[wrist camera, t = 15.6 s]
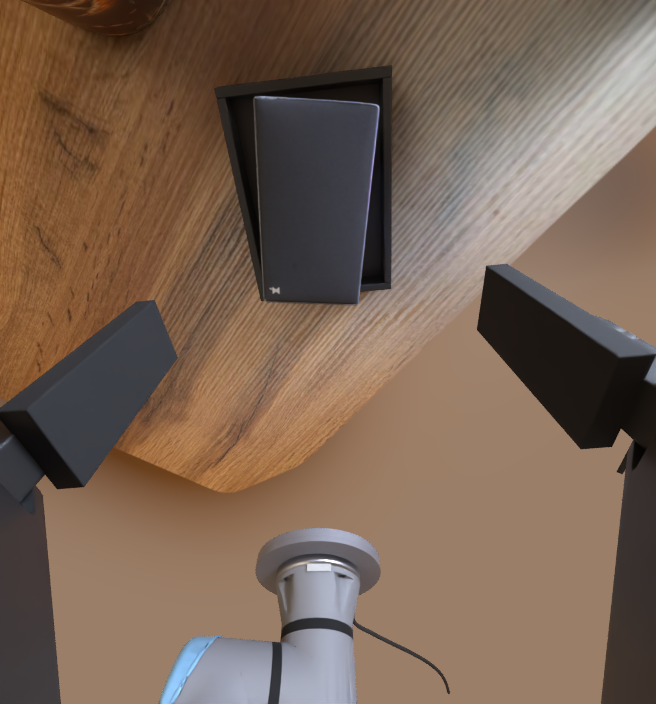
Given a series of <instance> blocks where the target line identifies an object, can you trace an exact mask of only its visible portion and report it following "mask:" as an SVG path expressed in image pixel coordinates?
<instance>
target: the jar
mask: <svg viewBox="0 0 656 704" xmlns="http://www.w3.org/2000/svg"><path fill="white" fill-rule="evenodd" d="M22 1H24V2H26V3H28V4H30V5H32V6H34V7H36V8H38V9H40V10H42V11H44V12H46V13H48V14H50V15H53V16H55V17H57V18H59V19H61V20H63V21H65V22H67V23H70V24H72V25H74V26H76V27H79V28H81V29H83V30H86V31H89V32H92V33H96V34H100V35H106V36H125V35H130V34H133V33H136V32H139V31H141V30H142V29H144V28H146V27H147V26H149V25H150V24H151V23H152V22H154V21H155V20H156V19H157V18H158V16H159V15H160V14H161V13H162V11H163V10H164V8H165V7H166V5H167V3H168V1H169V0H22Z"/></svg>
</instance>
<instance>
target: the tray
mask: <svg viewBox="0 0 656 704" xmlns="http://www.w3.org/2000/svg"><path fill="white" fill-rule="evenodd" d="M214 90H215V94H216V98H217V103H218V108H219V112H220V117H221V121H222V126H223V130H224V135H225V140H226V144H227V149H228V153H229V158H230V162H231V167H232V171H233V176H234V180H235V185H236V190H237V194H238V199H239V203H240V208H241V212H242V217H243V221H244V226H245V230H246V235H247V239H248V244H249V249H250V253H251V258H252V262H253V267H254V271H255V276H256V280H257V285H258V289H259V294H260V299H261V301H265V300H264V298H263V281H262V263H261V241H260V224H259V208H258V187H257V165H256V150H255V128H254V107H253V98H254V97H256V96H269V97H288V98H305V99H320V100H337V101H350V102H361V103H371V104H376V105H378V106H379V119H378V128H377V137H376V147H375V156H374V164H373V173H372V183H371V192H370V201H369V210H368V220H367V229H366V238H365V248H364V258H363V267H362V277H361V286H360V292H363V291H374V290H384V289H391V228H392V65H388V66H380V67H372V68H364V69H357V70H349V71H341V72H333V73H325V74H317V75H309V76H301V77H293V78H285V79H277V80H269V81H261V82H253V83H245V84H237V85H229V86H222V87H215V88H214Z"/></svg>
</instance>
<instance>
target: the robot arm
mask: <svg viewBox="0 0 656 704" xmlns="http://www.w3.org/2000/svg"><path fill="white" fill-rule="evenodd" d="M477 330H478V331H479V333H480V334H481V335H482V336H483V337H484V338H485V339H486V341H487V342H488V343H489V344H490V345H491V346H492V347H493V349H494V350H495V351H496V352H497V353H498V354H499V355H500V357H501V358H502V359H503V360H504V361H505V362H506V364H507V365H508V366H509V367H510V368H511V369H512V371H513V372H514V373H515V374H516V375H517V376H518V377H519V379H520V380H521V381H522V382H523V383H524V384H525V386H526V387H527V388H528V389H529V390H530V391H531V392H532V394H533V395H534V396H535V397H536V398H537V399H538V400H539V402H540V403H541V404H542V405H543V406H544V407H545V408H546V410H547V411H548V412H549V413H550V414H551V415H552V417H553V418H554V419H555V420H556V421H557V422H558V423H559V425H560V426H561V427H562V428H563V429H564V430H565V432H566V433H567V434H568V435H569V436H570V437H571V438H572V440H573V441H574V442H575V443H576V444H577V445H578V447H579V448H580V449H589V448H602V447H612V446H613V444H614V442H615V440H616V437H617V435H618V433H619V431H620V429H622V430H624V431H625V432H626V433H627V434H628V435H629V436H630V437H631V438H632V439H633V442H632V444H631V446H630V447H629V449H628V451H627V453H626V455H625V457H624V459H623V461H622V463H621V465H620V466H619V468H618V470H617V472H618V473H621V474H623V472H624V471H625V469H626V471H625V480H624V490H623V499H622V509H621V519H620V529H619V538H618V547H617V556H616V566H615V575H614V585H613V594H612V604H611V614H610V623H609V633H608V642H607V651H606V662H605V670H604V680H603V689H602V690H603V691H602V700H601V704H656V348H655V347H654V346H652V345H650V344H648V343H647V342H645V341H643V340H642V339H637V337H636V336H635V335H633V334H631V333H630V332H628V331H624V329H623V328H621V327H619V326H618V325H616V324H614V323H613V322H611V321H609V320H606V319H603V318H600V317H597V316H594V315H591V314H589V313H588V312H586V311H584V310H583V309H581V308H579V307H578V306H576V305H574V304H573V303H571V302H569V301H568V300H566V299H564V298H563V297H561V296H559V295H558V294H556V293H554V292H553V291H551V290H549V289H548V288H546V287H544V286H542V285H541V284H539V283H538V282H536V281H534V280H533V279H531V278H529V277H528V276H526V275H524V274H523V273H521V272H519V271H518V270H516V269H514V268H513V267H511V266H509V265H508V264H500V265H491V266H486V271H485V278H484V285H483V292H482V299H481V306H480V312H479V319H478V326H477ZM177 358H178V357H177V355H176V352H175V350H174V347H173V345H172V342H171V340H170V337H169V335H168V332H167V330H166V327H165V325H164V322H163V320H162V317H161V315H160V312H159V310H158V307H157V305H156V302H155V300H150V301H140V302H135V303H134V304H133V305H132V306H130V307H129V308H128V309H126V310H125V311H124V312H123V313H121V314H120V315H119V316H117V317H116V318H115V319H114V320H112V321H111V322H110V323H109V324H107V325H106V326H105V327H103V328H102V329H101V330H100V331H98V332H97V333H96V334H94V335H93V336H92V337H91V338H89V339H88V340H87V341H85V342H84V343H83V344H82V345H80V346H79V347H78V348H76V349H75V350H74V351H73V352H71V353H70V354H69V355H67V356H66V357H65V358H64V359H62V360H61V361H60V362H59V363H57V364H56V365H55V366H53V367H52V368H51V369H50V370H48V371H47V372H46V373H44V374H43V375H42V376H41V377H39V378H38V379H37V380H35V381H34V382H33V383H32V384H30V385H29V386H28V387H26V388H25V389H24V390H23V391H21V392H20V393H19V394H17V395H16V396H15V397H14V398H12V399H11V400H10V401H9V402H7V403H6V404H5V405H3V406H2V407H1V408H0V704H61V700H60V689H59V677H58V665H57V655H56V642H55V631H54V619H53V608H52V597H51V586H50V575H49V574H50V573H49V561H48V551H47V539H46V528H45V515H44V506H43V505H44V504H43V495H42V494H41V492H40V490H39V489H38V488H37V487H36V486H35V485H36V484H37V483H38V482H39V481H40V480H41V478H42V477H43V476H44V475H46V476H47V477H48V479H49V480H50V481H51V482H52V483H53V484H54V486H55V487H56V488H57V489H65V488H77V487H84V486H85V485H86V484H87V482H88V481H89V480H90V478H91V477H92V475H93V474H94V473H95V471H96V470H97V469H98V467H99V466H100V464H101V463H102V462H103V460H104V459H105V457H106V456H107V455H108V453H109V452H110V450H111V449H112V448H113V446H114V445H115V444H116V442H117V441H118V440H119V438H120V437H121V435H122V434H123V433H124V431H125V430H126V428H127V427H128V426H129V424H130V423H131V422H132V420H133V419H134V417H135V416H136V415H137V413H138V412H139V411H140V409H141V408H142V406H143V405H144V404H145V402H146V401H147V400H148V398H149V397H150V395H151V394H152V393H153V391H154V390H155V388H156V387H157V386H158V384H159V383H160V382H161V380H162V379H163V377H164V376H165V375H166V373H167V372H168V371H169V369H170V368H171V366H172V365H173V364H174V362H175V361H176V360H177ZM359 590H360V573H359V570H358V568H357V566H356V565H355V564H354V563H352V562H351V561H349V560H347V559H345V558H343V557H340V556H336V555H331V554H321V553H315V554H305V555H300V556H296V557H293V558H291V559H289V560H287V561H285V562H284V563H282V564H281V565H280V567H279V568H278V570H277V576H276V591H277V597H278V603H279V608H280V615H281V621H282V630H281V642H280V643H279V642H268V641H255V640H243V639H233V638H222V636H220V635H217V636H214V637H194V638H192V639H191V640H190V641H188V642H187V643H186V644H185V645H184V647H183V648H182V650H181V651H180V653H179V655H178V657H177V659H176V661H175V663H174V665H173V667H172V669H171V672H170V674H169V677H168V679H167V681H166V684H165V686H164V689H163V691H162V694H161V697H160V700H159V704H357V696H356V679H355V663H354V646H353V627H352V626H353V624H354V625H355V626H356V627H357V628H359V629H360V630H362V631H364V632H366V633H368V634H370V635H372V636H374V637H376V638H378V639H380V640H382V641H384V642H386V643H388V644H390V645H392V646H394V647H396V648H399V649H400V650H403V651H405V652H407V653H409V654H411V655H413V656H414V657H417V658H418V659H420V660H422V661H423V662H425V663H426V664H428V665H429V666H431V667H432V668H433V669H435V670H436V671H437V672H438V673H439V675H440V676H441V677H442V679H443V681H444V683H445V685H446V689H447V692H448V694H450V691H449V687H448V684H447V681H446V679H445V677H444V676H443V674H442V673H441V671H440V670H439V669H438V668H437V667H435V666H434V665H433V664H432V663H430V662H429V661H428V660H426V659H425V658H423V657H421V656H420V655H418V654H416V653H414V652H412V651H410V650H409V649H407V648H405V647H402V646H401V645H398V644H396V643H394V642H392V641H390V640H388V639H386V638H384V637H382V636H380V635H378V634H376V633H375V632H373V631H371V630H369V629H367V628H365V627H363V626H361V625H359V624H358V623H357V622H356V621H355V618H354V617H355V609H356V604H357V599H358V595H359Z"/></svg>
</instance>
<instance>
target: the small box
mask: <svg viewBox="0 0 656 704" xmlns="http://www.w3.org/2000/svg"><path fill="white" fill-rule="evenodd" d="M253 107H254V128H255V150H256V165H257V187H258V208H259V224H260V241H261V263H262V281H263V298H264V300H265V301H266V302H268V303H270V302H273V303H275V302H277V303H306V304H328V305H330V304H332V305H358V303H359V296H360V286H361V277H362V267H363V258H364V248H365V238H366V229H367V220H368V210H369V201H370V192H371V183H372V173H373V164H374V156H375V147H376V137H377V128H378V119H379V106H378V105H376V104H371V103H361V102H350V101H337V100H320V99H305V98H288V97H269V96H256V97H254V98H253Z"/></svg>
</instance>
